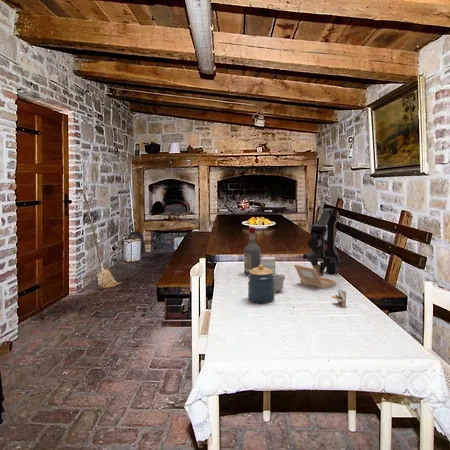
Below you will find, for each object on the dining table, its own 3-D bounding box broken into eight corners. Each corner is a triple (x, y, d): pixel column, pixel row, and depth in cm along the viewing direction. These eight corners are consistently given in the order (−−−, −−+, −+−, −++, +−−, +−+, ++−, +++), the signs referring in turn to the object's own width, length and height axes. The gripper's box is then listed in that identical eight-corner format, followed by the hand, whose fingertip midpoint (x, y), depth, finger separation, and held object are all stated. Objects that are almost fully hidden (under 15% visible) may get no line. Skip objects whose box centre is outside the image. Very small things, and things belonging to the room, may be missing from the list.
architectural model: (339, 308, 155) (340, 292, 154) (330, 303, 161) (331, 288, 160) (346, 307, 156) (346, 292, 155) (337, 303, 162) (337, 287, 161)
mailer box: (313, 278, 203) (313, 275, 202) (336, 284, 190) (336, 280, 190) (300, 282, 196) (300, 279, 195) (322, 288, 183) (322, 284, 183)
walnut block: (317, 274, 196) (318, 264, 195) (323, 275, 192) (323, 265, 192) (313, 275, 193) (313, 265, 193) (319, 277, 190) (319, 266, 189)
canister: (256, 305, 160) (255, 268, 158) (243, 297, 172) (243, 263, 170) (279, 301, 165) (279, 265, 163) (265, 293, 177) (265, 260, 175)
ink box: (275, 275, 212) (274, 256, 210) (275, 277, 207) (275, 258, 205) (261, 275, 212) (260, 257, 211) (261, 277, 207) (261, 258, 206)
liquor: (256, 272, 221) (255, 226, 217) (262, 275, 212) (261, 228, 209) (243, 273, 218) (242, 227, 215) (248, 277, 209) (248, 229, 206)
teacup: (270, 295, 175) (270, 279, 174) (259, 289, 184) (258, 275, 183) (292, 290, 181) (292, 276, 180) (279, 285, 191) (279, 271, 190)
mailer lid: (294, 264, 191) (294, 264, 191) (315, 268, 179) (315, 269, 179) (300, 278, 195) (300, 278, 195) (322, 283, 183) (321, 284, 183)
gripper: (296, 245, 194) (296, 272, 195) (323, 250, 179) (323, 279, 181) (309, 243, 200) (309, 269, 202) (336, 247, 185) (336, 275, 187)
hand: (318, 273), depth 193 cm, fingers closed on walnut block, 4 cm apart
